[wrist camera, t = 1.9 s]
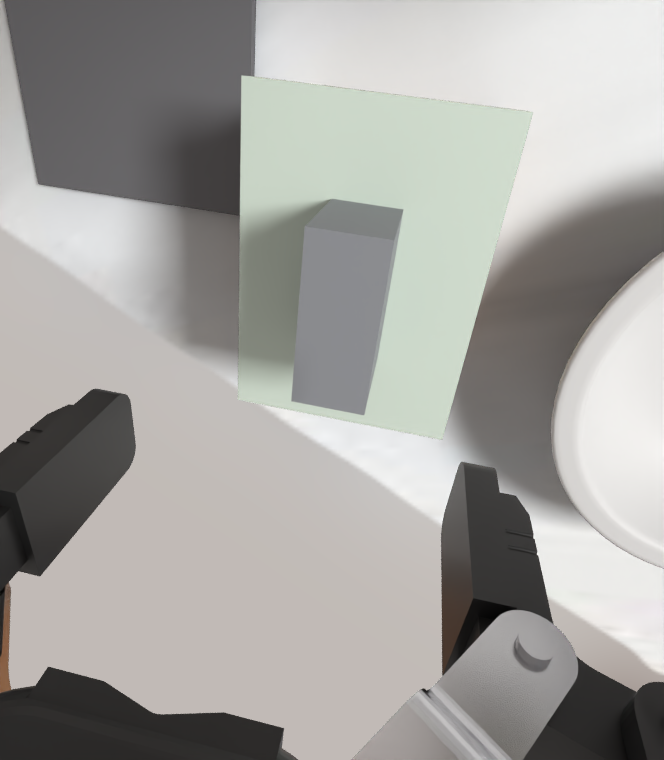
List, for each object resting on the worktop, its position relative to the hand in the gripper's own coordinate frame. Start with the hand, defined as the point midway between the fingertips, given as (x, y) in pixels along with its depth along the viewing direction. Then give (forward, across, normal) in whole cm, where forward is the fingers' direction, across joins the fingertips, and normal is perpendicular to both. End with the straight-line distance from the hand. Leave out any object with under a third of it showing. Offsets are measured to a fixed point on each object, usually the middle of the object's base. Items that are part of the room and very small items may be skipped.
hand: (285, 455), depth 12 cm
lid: (+14, 0, 0) cm, 14 cm away
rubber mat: (+22, +15, -10) cm, 28 cm away
